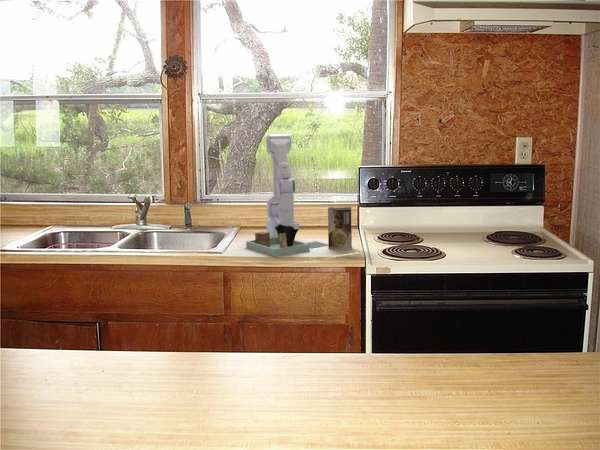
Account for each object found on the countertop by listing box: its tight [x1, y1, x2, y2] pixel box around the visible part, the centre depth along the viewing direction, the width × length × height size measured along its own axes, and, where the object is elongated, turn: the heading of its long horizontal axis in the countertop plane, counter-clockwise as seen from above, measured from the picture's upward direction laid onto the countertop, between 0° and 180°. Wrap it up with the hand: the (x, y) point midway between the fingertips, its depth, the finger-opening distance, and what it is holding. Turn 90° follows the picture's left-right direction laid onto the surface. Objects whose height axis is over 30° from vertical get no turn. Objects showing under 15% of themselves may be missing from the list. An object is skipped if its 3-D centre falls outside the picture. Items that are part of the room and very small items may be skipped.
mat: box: [306, 240, 328, 249], centre depth 257 cm, size 10×10×1 cm
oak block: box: [279, 233, 294, 248], centre depth 249 cm, size 4×4×6 cm
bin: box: [245, 236, 311, 258], centre depth 249 cm, size 20×16×3 cm
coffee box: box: [327, 206, 353, 250], centre depth 250 cm, size 9×6×16 cm
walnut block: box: [254, 230, 270, 247], centre depth 252 cm, size 4×4×6 cm
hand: (286, 245), depth 249 cm, fingers closed on oak block, 4 cm apart
